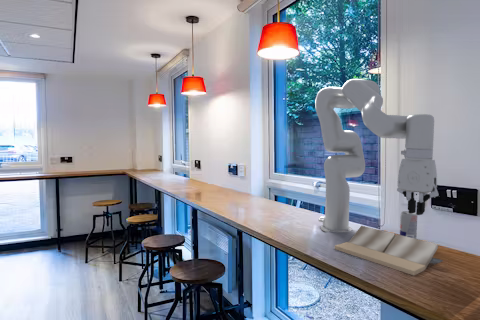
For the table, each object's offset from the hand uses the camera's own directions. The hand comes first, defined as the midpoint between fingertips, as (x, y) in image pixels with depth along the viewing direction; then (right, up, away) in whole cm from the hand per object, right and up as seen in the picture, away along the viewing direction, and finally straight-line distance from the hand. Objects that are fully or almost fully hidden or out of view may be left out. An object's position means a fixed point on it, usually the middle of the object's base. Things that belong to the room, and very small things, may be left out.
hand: (415, 213), depth 100 cm
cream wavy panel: (-2, -12, -1) cm, 12 cm away
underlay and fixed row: (-8, -15, +3) cm, 17 cm away
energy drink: (+6, -14, +16) cm, 22 cm away
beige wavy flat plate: (-10, -11, +10) cm, 18 cm away
